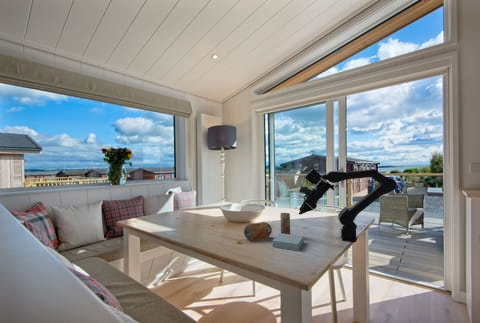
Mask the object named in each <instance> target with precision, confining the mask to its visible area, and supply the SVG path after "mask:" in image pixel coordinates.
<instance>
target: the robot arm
mask: <svg viewBox="0 0 480 323" xmlns="http://www.w3.org/2000/svg"><path fill="white" fill-rule="evenodd" d="M363 178H364V179H365V178H372V179H373V180H374V181H375V182H377V184H376V185H375V186H374V188H373V189H372V190H371V191H370V192H368V193H367V194H366V195H365V196H363V197H362V198H360V200H359V201H357V202H356V203H355V204H354V205H352V206H350V207H349V208H347V207H346V206H344V207H343V209H341V210H340V211H339V213H338V214H337V219H338V221H339V224H341V225H342V228H341V231H340V234H341V236H340V238H341V240H342V241H344V242H345V241H346V242H353V243H357V239H358V237H357V227H358V225H357V224H356V222H355V219H356V218H357V216H358V215H359V214H360V213H361V212H363V211H364V210H365V209H366V208H367V207H369V206H370V205H371V204H373V203H374V202H375V201H377V200H378V199H379V198H380V197H381V196H384V195H386V194H387V195H388V194H389V193H391V192H393V191H395V190H396V189H397V187H398V182H397V181H396V180H395V179H393V178H390V177H389V178H388V177H387V176H386V175H384V174H383V173H380V172H379V171H378V170H377V169H374V168H370V169H363V170H351V171H334V170H333V171H332V170H331V171H328V172H327V173H325V174H320V173H319V172H318V171H317V170H316V169H315V168H312V169H311V170H310V171H309V172H308V173H307V174H306V175H305V176H304V179H305V180H307V181H308V182H309V183H310V184H311V185H315V187H313V188H312V189H310V188H308V186H306V185H305V186H304V185H300V187H299V190H298V193H301V194H304V195H303V202H302V204H301V206H300V207H299V208H298V210H299V212H298V215H300V216H301V215H303V214H306V213H308V212H310V211H311V212H312V211H314V210H315V209H316V208H317V207H318V205H317V204H318V202H319V201H320V200H321V198H322V199H323V197H324V195H326V193H327V192H328V191H329V190H330V189H331V191H335V184H336V183H340V182H343V181H347V180H354V179H363Z"/></svg>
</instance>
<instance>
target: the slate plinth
mask: <svg viewBox="0 0 480 323" xmlns="http://www.w3.org/2000/svg"><path fill="white" fill-rule="evenodd" d="M304 239H305V238H304V235H297V234H291V233H290V234H283V233H281V232H280V233H279V234H278V235H276V237H274V238H273V239H272V248H277V249H279V248H280V249H285V250H291V251H299V250H300V248H301V247H302V246H303V244H304V243H305V242H304V241H305V240H304Z"/></svg>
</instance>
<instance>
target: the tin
mask: <svg viewBox="0 0 480 323" xmlns="http://www.w3.org/2000/svg"><path fill="white" fill-rule="evenodd" d="M272 232H273V229H272V226H271V224H269V223H268V222H265V221H262V222H261V221H259V222H253V223H252V222H251V223H248V224H247V225H245V227H244V228H243V235H244V237H245V238H246V239H247V240H248V241H256V240H265V239H268V238H269V237H270V236H271V235H272Z"/></svg>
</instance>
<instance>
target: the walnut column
mask: <svg viewBox="0 0 480 323" xmlns="http://www.w3.org/2000/svg"><path fill="white" fill-rule="evenodd" d="M280 233H283V234H291V214H290V213H289V212H280Z"/></svg>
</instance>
